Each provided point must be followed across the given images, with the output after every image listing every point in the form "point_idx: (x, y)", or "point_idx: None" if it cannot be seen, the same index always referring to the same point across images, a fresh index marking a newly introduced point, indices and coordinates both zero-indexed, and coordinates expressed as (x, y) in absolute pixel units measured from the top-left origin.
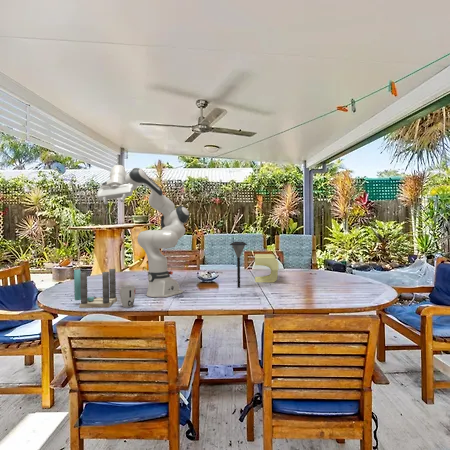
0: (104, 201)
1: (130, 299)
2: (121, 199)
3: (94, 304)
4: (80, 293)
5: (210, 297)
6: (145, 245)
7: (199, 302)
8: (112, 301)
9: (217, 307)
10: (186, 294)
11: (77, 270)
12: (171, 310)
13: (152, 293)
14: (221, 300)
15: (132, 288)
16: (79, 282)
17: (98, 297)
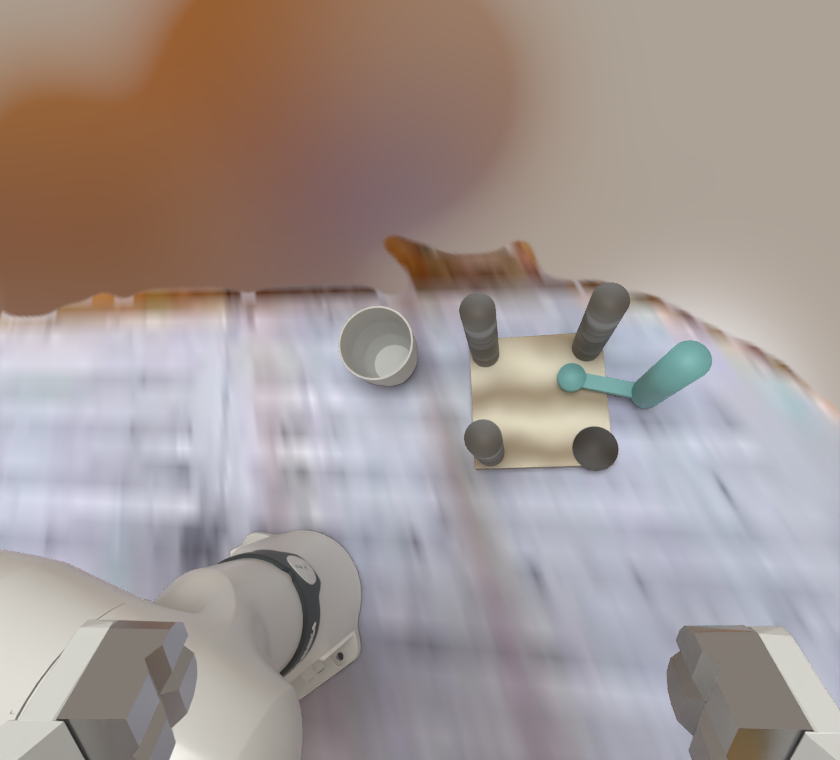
0: (800, 667)
1: (368, 333)
2: (123, 634)
3: (531, 336)
4: (636, 386)
5: (69, 517)
6: (230, 621)
7: (117, 425)
8: (472, 396)
9: (60, 347)
10: None
11: (679, 343)
12: (216, 304)
13: (316, 539)
14: (33, 458)
15: (346, 323)
16: (651, 368)
17: (569, 464)
